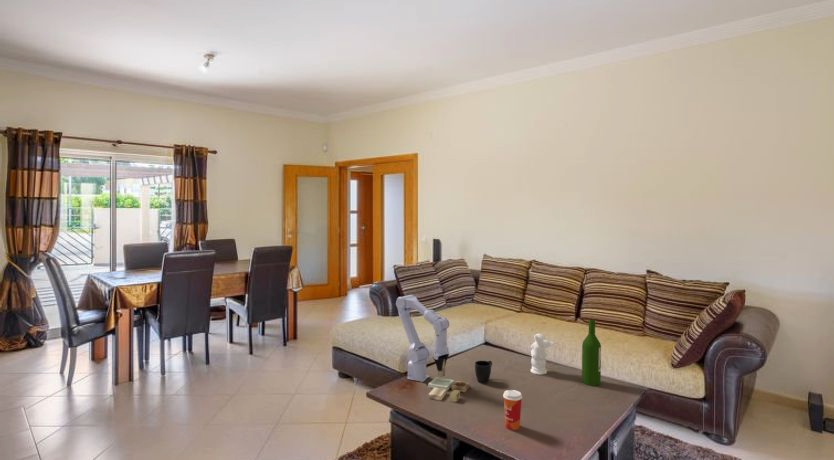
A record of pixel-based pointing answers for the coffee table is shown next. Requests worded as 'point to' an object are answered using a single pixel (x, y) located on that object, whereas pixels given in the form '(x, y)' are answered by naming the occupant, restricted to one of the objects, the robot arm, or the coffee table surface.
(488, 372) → the mug
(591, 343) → the wine bottle
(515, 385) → the coffee table surface
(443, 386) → the tray
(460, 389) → the socket block
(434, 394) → the beige rectangular box
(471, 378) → the coffee table surface
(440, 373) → the dowel
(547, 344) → the cherub figurine
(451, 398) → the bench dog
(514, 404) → the paper cup
